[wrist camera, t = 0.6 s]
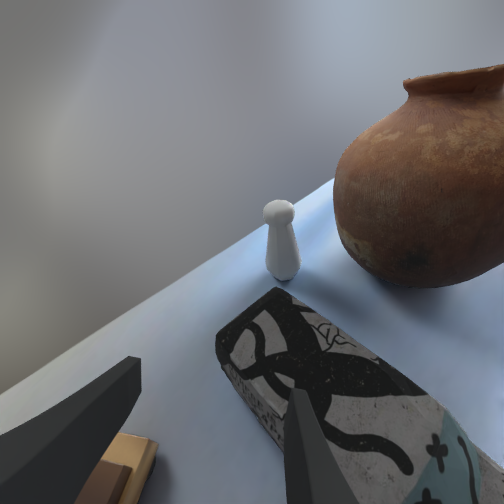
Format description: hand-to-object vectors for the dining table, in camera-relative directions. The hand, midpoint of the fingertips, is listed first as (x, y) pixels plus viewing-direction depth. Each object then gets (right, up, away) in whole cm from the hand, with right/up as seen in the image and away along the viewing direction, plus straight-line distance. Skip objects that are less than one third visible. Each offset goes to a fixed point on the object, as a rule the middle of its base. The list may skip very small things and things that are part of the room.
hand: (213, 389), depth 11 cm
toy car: (+10, -11, +13) cm, 20 cm away
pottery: (+26, +6, +28) cm, 39 cm away
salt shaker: (+7, +3, +30) cm, 31 cm away
